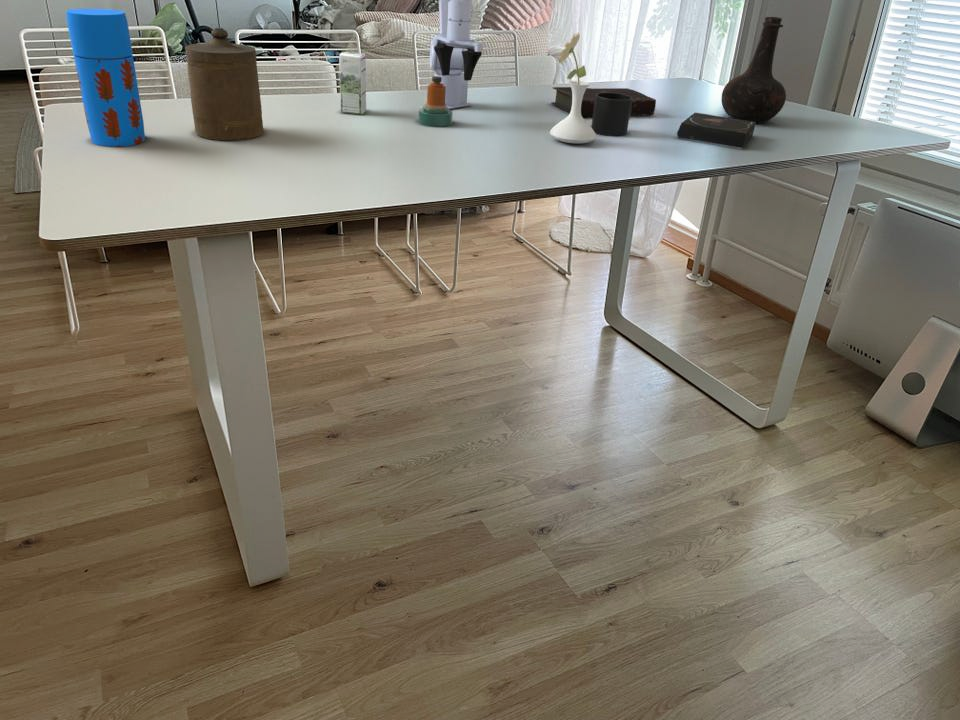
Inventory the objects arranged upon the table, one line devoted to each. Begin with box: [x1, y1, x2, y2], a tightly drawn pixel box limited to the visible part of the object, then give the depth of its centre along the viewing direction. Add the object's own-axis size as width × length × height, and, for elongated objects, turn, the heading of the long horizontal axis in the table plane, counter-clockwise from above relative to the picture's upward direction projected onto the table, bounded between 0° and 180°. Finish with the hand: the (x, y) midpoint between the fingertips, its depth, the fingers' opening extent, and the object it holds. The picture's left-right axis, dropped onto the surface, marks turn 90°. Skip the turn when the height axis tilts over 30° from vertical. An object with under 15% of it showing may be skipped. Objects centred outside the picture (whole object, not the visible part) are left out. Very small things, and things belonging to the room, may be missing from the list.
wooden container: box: [185, 27, 264, 141], centre depth 164 cm, size 15×15×22 cm
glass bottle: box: [721, 16, 787, 124], centre depth 213 cm, size 18×18×28 cm
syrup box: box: [338, 51, 367, 115], centre depth 192 cm, size 6×6×14 cm
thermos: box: [65, 8, 146, 148], centre depth 152 cm, size 11×11×25 cm
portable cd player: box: [676, 112, 757, 151], centre depth 196 cm, size 16×17×4 cm
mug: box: [590, 93, 632, 137], centre depth 193 cm, size 9×12×9 cm
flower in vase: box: [549, 32, 597, 144], centre depth 177 cm, size 13×11×25 cm
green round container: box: [418, 101, 454, 128], centre depth 190 cm, size 9×9×5 cm
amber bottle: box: [426, 75, 446, 106], centre depth 187 cm, size 5×5×6 cm
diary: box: [550, 86, 657, 117], centre depth 217 cm, size 19×25×5 cm
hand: (456, 77), depth 191 cm, fingers open, 7 cm apart
